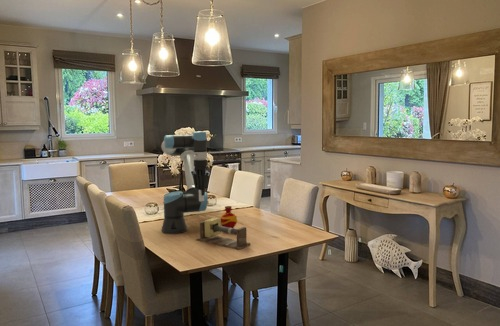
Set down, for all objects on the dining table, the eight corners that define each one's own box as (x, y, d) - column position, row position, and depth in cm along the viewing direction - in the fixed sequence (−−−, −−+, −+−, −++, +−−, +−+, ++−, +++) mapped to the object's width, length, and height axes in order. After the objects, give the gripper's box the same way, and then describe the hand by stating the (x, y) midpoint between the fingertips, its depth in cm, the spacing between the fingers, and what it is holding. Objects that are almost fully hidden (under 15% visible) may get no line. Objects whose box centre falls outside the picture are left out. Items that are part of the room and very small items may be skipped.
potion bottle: (222, 234, 236) (221, 209, 235) (218, 229, 246) (218, 205, 245) (239, 232, 239) (239, 207, 237) (235, 228, 249) (235, 204, 247)
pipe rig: (196, 240, 226) (196, 222, 225) (208, 235, 234) (208, 218, 233) (239, 250, 208) (238, 231, 207) (250, 244, 216) (250, 226, 215)
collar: (204, 236, 222) (204, 220, 221) (215, 232, 230) (215, 217, 229) (210, 237, 220) (210, 221, 219) (221, 233, 227) (220, 218, 226)
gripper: (187, 159, 225) (188, 200, 228) (204, 160, 218) (205, 203, 220) (196, 158, 231) (197, 198, 234) (213, 159, 224) (214, 201, 226)
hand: (201, 200), depth 227 cm, fingers closed
